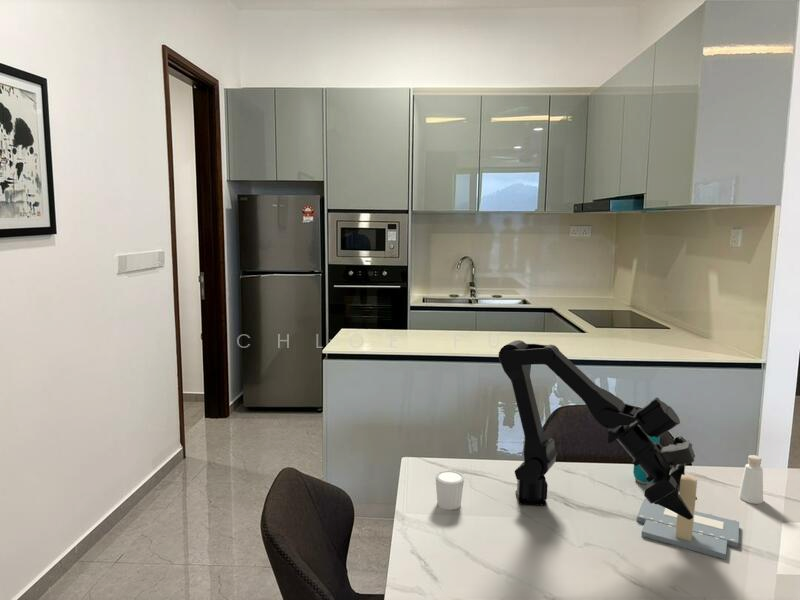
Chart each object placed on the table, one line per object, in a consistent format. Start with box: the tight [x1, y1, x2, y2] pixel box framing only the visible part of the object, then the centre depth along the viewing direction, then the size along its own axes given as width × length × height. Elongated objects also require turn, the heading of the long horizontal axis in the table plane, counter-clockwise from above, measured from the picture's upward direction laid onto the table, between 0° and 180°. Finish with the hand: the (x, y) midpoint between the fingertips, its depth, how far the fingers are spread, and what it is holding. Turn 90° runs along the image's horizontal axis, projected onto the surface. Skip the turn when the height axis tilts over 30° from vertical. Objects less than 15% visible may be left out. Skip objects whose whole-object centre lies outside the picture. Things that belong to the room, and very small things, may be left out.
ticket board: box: [636, 498, 740, 549], centre depth 130 cm, size 20×10×1 cm, turn 59°
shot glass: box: [435, 470, 465, 511], centre depth 138 cm, size 7×7×7 cm
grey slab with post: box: [641, 474, 728, 560], centre depth 123 cm, size 16×6×14 cm, turn 59°
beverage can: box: [632, 436, 661, 485], centre depth 151 cm, size 6×6×15 cm
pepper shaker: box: [738, 454, 764, 505], centre depth 142 cm, size 5×5×11 cm
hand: (693, 509), depth 122 cm, fingers open, 9 cm apart
